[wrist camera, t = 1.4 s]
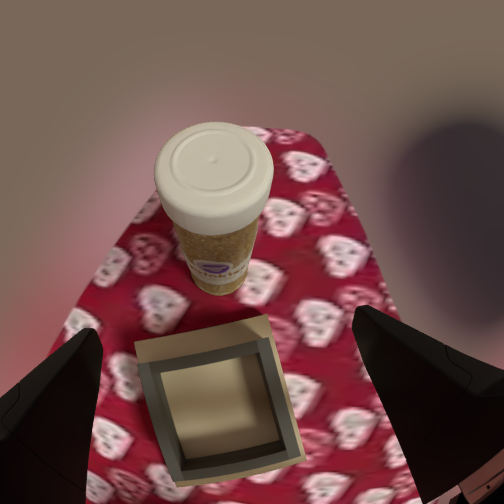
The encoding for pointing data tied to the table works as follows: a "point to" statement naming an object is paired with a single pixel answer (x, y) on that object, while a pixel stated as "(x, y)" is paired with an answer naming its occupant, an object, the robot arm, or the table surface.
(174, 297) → the table surface
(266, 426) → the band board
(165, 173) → the sprinkles bottle
